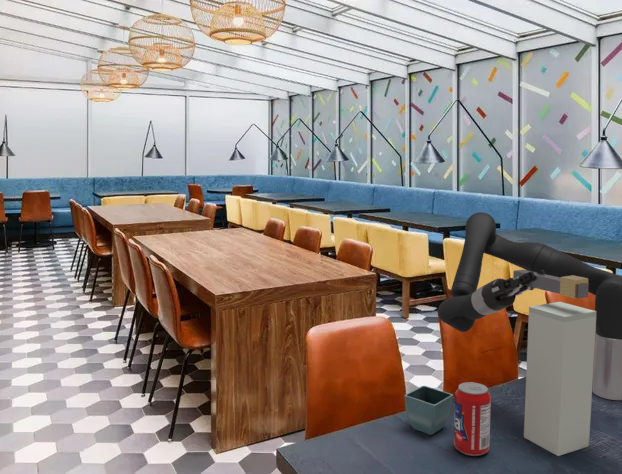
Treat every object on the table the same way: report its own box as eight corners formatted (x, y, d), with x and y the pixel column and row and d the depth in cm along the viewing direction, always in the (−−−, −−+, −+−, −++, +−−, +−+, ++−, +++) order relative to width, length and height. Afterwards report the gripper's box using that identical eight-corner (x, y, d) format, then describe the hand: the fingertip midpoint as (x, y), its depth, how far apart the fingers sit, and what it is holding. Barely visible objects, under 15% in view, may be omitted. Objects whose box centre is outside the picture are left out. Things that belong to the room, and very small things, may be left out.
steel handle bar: (523, 281, 145) (524, 265, 144) (589, 296, 128) (590, 278, 127) (511, 282, 143) (512, 266, 142) (576, 298, 126) (577, 280, 125)
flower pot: (453, 428, 144) (454, 393, 142) (434, 441, 137) (435, 405, 136) (422, 418, 150) (423, 384, 148) (403, 430, 143) (403, 395, 142)
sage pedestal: (553, 428, 143) (559, 301, 139) (588, 446, 134) (596, 311, 130) (523, 437, 139) (529, 306, 134) (558, 456, 130) (564, 316, 125)
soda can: (487, 461, 128) (489, 396, 126) (451, 454, 131) (452, 391, 129) (490, 445, 135) (492, 383, 133) (456, 439, 138) (457, 378, 136)
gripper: (517, 307, 154) (565, 286, 139) (476, 314, 148) (522, 292, 133) (508, 281, 156) (554, 257, 142) (467, 286, 150) (511, 262, 136)
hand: (538, 274), depth 138 cm, fingers closed on steel handle bar, 3 cm apart
